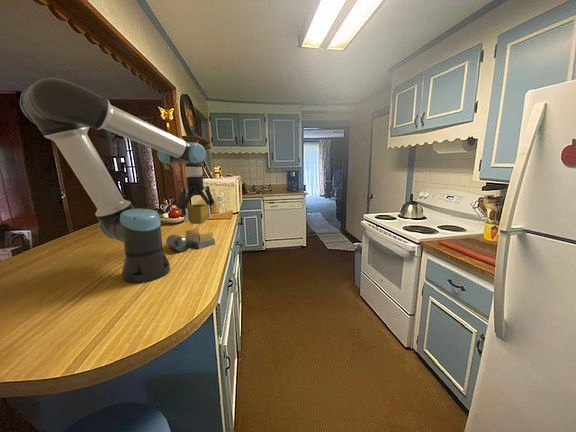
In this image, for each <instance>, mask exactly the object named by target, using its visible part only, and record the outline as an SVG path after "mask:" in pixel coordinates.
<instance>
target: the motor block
mask: <svg viewBox="0 0 576 432" xmlns="http://www.w3.org/2000/svg"><path fill="white" fill-rule="evenodd" d="M199 231H200V230H199V228H198V227H196V228H193V229H191V228H190V229H186V230H185V231H184V235H185V237H182V236H180V235H177V234H170V235H169V236H168V237H167V238H166V241H165V244H166V246H168V247H169V248H171V249H173V250H175V251H177V252H180V253H183V252H186V251H188V250H189V249H190V248H195V249H197V250H200V249H204V248H208V247H211V246H215V245H216V241H215V240H216V239H215V238H214V236H213V235H214V234H213V233H214V232H212V231H211V232H207V233H206V232H205V233H202V234H201V233H200V232H199Z"/></svg>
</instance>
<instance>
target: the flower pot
mask: <svg viewBox="0 0 576 432" xmlns="http://www.w3.org/2000/svg"><path fill="white" fill-rule="evenodd" d="M185 209H187V210H188V223H190V224H191V225H201V224H203V223H205V222H206V221H207V219H208V218H207V217H208V211H209V205H207V204H196V203H195V204H189V205H187V207H186V208H185Z"/></svg>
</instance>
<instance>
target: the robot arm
mask: <svg viewBox="0 0 576 432" xmlns="http://www.w3.org/2000/svg"><path fill="white" fill-rule="evenodd" d="M19 106H20V109H21V111H22V114H23V115H25V117H26V118H28V119H29V121H30V122H32V123H34V124H35V125H36V126H37V128H38V130H39V132H41V134H42V136H43V137H44V138H46V139H48V140H51V141H53V142H54V144H55V145H56V146H57V149H59V151H60V153H61V154H62V156H63V157H64V159H65V160H66V162H67V164H68V165H69V166H70V168H71V170H72V172H73V173H74V174H75V176H76V177H77V179H78V181H79V183H80V184H81V185H82V187H83V189H84V190H85V192H86V193H87V195H88V196H89V197H90V199H91V201H92V203H93V205H94V206H95V208H96V209H97V210H96V211H95V215H94V216H95V217H96V218H97V220H98V221H99V222H98V225H99V229H100V231H101V232H102V233H103V234H104V235H105V236H107V237H108V238H110V239H112V240H116V241H120V242H123V247H124V248H123V249H124V255H125V258H124V263H123V266H122V270H121V277H122V280H123V281H124V282H126V283H131V284H133V283H134V284H136V283H138V284H139V283H144V282H145V283H146V282H151V281H155V280H157V279H160V278H162V277H164V276H166V275H168V274H169V272H171V265H170V261H169V259H168V257H167V255H166V254H165V251H164V247H163V238H162V229H161V226H162V225H161V219H160V214H159V213H158V211H156V210H154V209H150V208H149V209H148V208H135V207H134V205H133V204H132V202H131V201H130V200H126V199H125V198H123V196H122V193H121V192H120V190H119V188H118V187H117V185H116V183H115V181H114V180H113V178H112V176H111V174H110V173H109V171H108V169H107V167H106V165H105V164H104V162H103V160H102V158H101V156H100V155H99V153H98V151H97V150H96V148H95V146H94V145H93V143H92V141H91V138H90V137H89V135H88V132H89V129H90V128H91V129H95V130H96V131H97V130H101V129H103V130H106V131H108V132H110V133H113V134H116V135H118V136H121V137H124V138H126V139H129V140H131V141H134V142H136V143H139V144H141V145H144V146H146V147H149V148H152V149H153V150H157V151H156V153H157V158H158V160H159V161H160V162H161V163H163V164H168V165H169V164H184V165H185V175H186V179H185V180H186V185H187V186H186V187H184V186H183V187H180V194H179V198H178V201H177V204H176V208H178V209H181V216H183V222H184V223H189V220H188V210H187V209H185V208H186V207H187V206H189V205H188V204H189V203H190V202H191V200H192V197H194V196H200V197H201V198H202V200H203V201H204V202H205V205H209V211H208V217H207V219H211V217H212V216H211V212H212V206H213V205H214V204H215V200H214V197H213V196H212V194H211V190H210V186H209V185H204V178H203V175H204V173H203V164H202V163H203V161H205V159H206V158H207V157H206V155H207V153H206V149H205V147H204V146H203V145H202V144H200V143H198V142H189V141H186V140H184V139H182V138H180V137H177V136H176V135H174V134H172V133H169V132H167V131H166V130H164V129H161V128H159V127H157V126H155V125H153V124H151V123H149V122H147V121H145V120H143V119H140V118H139V117H137V116H135V115H132V114H130V113H129V112H126V111H125V110H122V109H120V108H118V107H116V106H114V105H112V104H111V103H110V101H109V99H107V98H106V97H103V96H102V95H99V94H97V93H95V92H93V91H91V90H89V89H87V88H85V87H83V86H80V85H79V84H77V83H74V82H71V81H68V80H66V79H62V78H58V77H57V78H56V77H46V78H41V79H39V80H37V81H35V82H34V83H33V84H32V85H29V86H27V87H26V88H25V89H24V90H22V92H21V94H20V99H19Z"/></svg>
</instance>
